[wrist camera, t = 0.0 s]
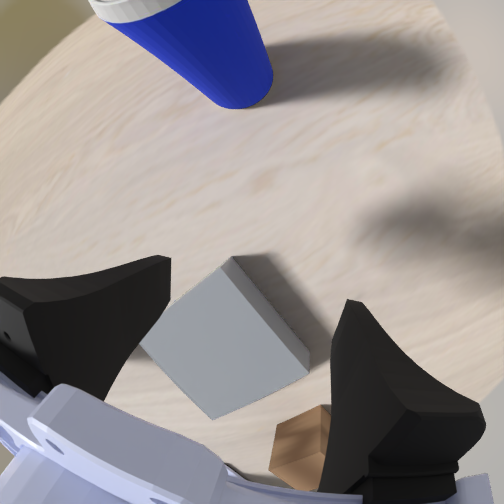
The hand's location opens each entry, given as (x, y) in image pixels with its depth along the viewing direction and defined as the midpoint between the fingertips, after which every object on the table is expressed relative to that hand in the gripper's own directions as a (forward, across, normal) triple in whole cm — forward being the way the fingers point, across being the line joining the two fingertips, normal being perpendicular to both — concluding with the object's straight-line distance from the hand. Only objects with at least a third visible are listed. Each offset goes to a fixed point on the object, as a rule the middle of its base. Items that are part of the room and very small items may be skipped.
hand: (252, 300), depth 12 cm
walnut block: (+8, -7, +18) cm, 21 cm away
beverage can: (+13, +5, -10) cm, 17 cm away
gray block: (+9, +3, +10) cm, 14 cm away
